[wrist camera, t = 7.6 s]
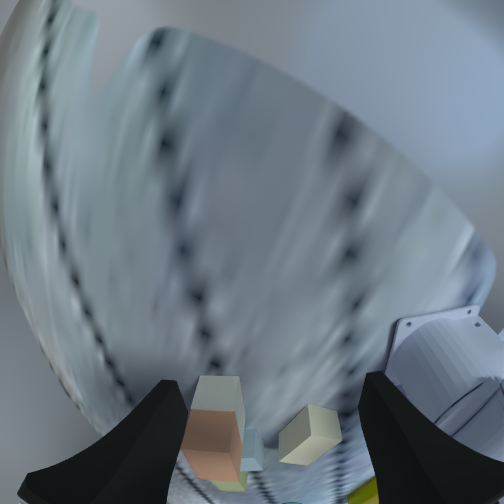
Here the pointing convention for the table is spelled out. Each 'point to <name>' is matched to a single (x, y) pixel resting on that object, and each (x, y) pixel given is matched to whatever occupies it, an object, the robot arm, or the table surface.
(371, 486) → the element tile
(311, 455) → the cream brick
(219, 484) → the olive brick
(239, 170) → the table surface
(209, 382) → the grey brick
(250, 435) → the blue brick
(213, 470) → the terracotta brick
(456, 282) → the table surface
